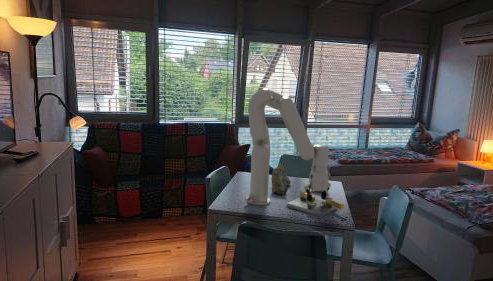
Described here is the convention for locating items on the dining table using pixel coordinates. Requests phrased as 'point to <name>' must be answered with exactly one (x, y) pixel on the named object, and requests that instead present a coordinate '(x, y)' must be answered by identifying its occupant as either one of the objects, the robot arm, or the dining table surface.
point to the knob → (333, 203)
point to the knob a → (305, 196)
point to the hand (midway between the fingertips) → (316, 200)
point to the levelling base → (311, 207)
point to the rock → (279, 180)
